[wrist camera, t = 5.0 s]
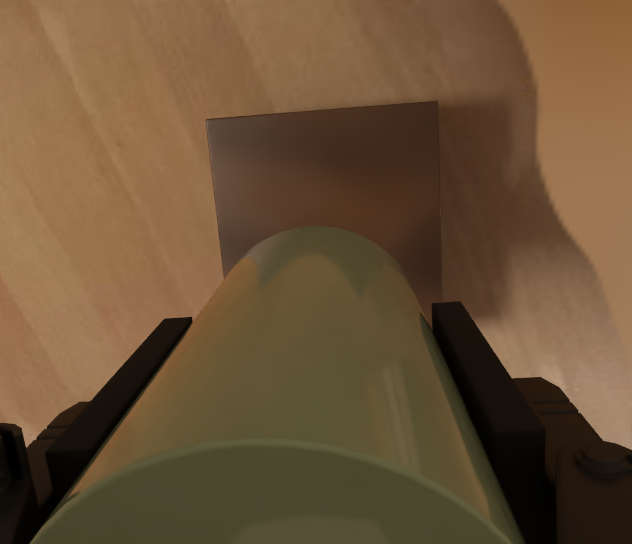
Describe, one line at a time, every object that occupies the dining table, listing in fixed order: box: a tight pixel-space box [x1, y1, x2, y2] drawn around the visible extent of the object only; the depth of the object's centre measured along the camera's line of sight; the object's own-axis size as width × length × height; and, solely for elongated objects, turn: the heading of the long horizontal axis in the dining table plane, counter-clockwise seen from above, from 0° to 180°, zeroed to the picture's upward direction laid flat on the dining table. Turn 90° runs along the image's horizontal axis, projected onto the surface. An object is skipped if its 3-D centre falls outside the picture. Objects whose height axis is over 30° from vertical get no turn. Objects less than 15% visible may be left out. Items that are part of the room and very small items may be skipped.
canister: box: [29, 226, 526, 544], centre depth 12 cm, size 6×6×12 cm
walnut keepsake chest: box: [206, 101, 442, 329], centre depth 33 cm, size 14×11×9 cm
